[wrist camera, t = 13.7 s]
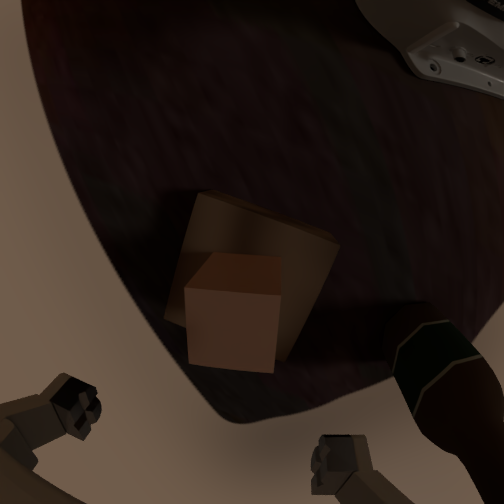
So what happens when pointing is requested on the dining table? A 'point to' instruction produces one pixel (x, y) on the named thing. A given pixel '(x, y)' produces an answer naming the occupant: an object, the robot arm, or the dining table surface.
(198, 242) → the walnut block
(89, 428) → the robot arm
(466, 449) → the beer bottle
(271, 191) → the dining table surface
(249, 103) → the dining table surface
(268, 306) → the terracotta block
